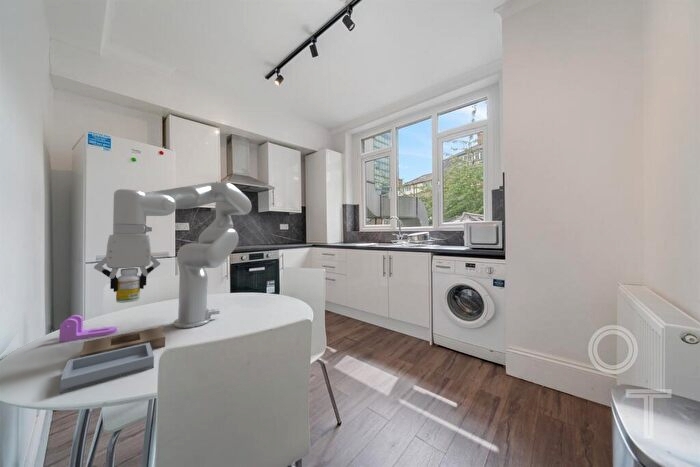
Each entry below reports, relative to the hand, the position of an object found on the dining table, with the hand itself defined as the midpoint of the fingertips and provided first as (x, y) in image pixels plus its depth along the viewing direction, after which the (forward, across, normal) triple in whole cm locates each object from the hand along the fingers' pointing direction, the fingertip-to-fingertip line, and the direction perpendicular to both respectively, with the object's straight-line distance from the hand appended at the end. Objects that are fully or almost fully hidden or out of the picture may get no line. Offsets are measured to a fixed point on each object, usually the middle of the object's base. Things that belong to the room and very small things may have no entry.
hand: (128, 289), depth 75 cm
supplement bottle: (+4, 0, 0) cm, 4 cm away
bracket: (+19, +9, -21) cm, 29 cm away
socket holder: (+18, 0, 0) cm, 18 cm away
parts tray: (+18, +3, +13) cm, 23 cm away
